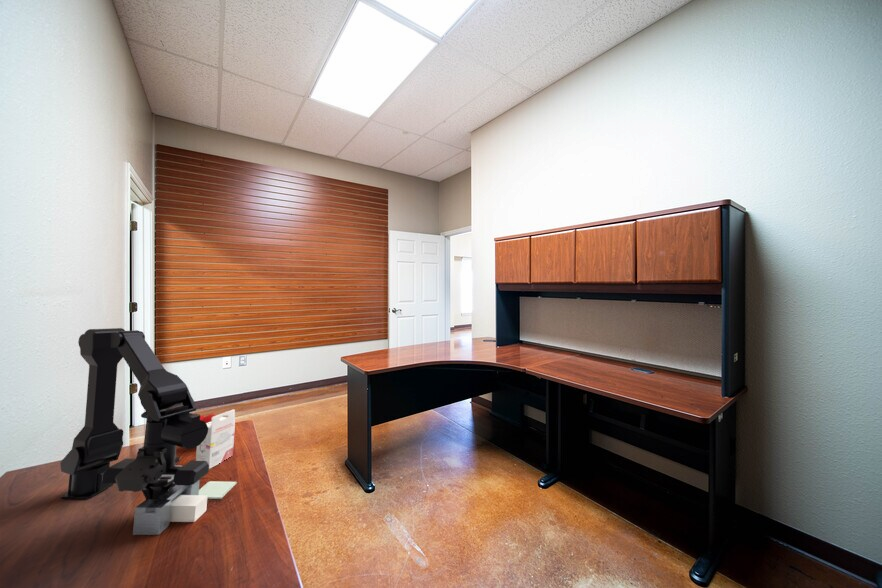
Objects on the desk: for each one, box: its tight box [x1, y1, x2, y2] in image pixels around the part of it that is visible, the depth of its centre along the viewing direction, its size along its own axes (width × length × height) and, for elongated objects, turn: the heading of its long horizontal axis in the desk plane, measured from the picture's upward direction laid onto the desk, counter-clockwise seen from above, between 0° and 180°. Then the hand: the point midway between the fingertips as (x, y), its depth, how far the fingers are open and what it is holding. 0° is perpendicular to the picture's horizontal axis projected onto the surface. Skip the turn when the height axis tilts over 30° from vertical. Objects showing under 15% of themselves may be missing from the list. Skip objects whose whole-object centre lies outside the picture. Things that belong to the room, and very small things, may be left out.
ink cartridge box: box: [195, 409, 236, 470], centre depth 97 cm, size 9×5×15 cm, turn 168°
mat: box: [198, 480, 238, 500], centre depth 82 cm, size 7×7×1 cm
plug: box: [169, 495, 208, 523], centre depth 73 cm, size 9×4×3 cm, turn 94°
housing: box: [132, 479, 201, 536], centre depth 72 cm, size 5×12×5 cm, turn 4°
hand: (154, 510), depth 72 cm, fingers closed
